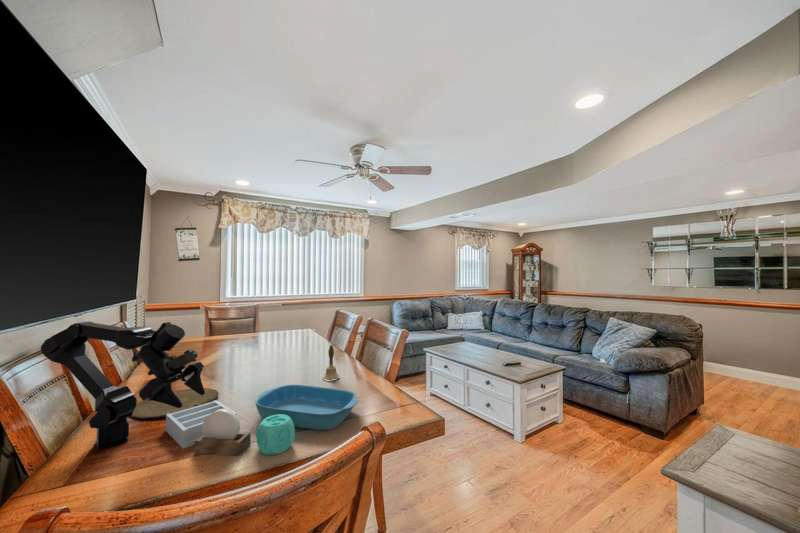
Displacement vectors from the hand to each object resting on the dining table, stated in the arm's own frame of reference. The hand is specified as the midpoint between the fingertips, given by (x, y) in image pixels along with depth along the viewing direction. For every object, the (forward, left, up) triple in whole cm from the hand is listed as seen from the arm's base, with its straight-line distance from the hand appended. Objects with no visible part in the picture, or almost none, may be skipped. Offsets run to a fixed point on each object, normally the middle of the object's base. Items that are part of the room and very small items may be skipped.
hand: (193, 400), depth 93 cm
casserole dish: (+33, -9, -14) cm, 37 cm away
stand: (+5, -8, -13) cm, 17 cm away
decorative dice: (+15, -19, -14) cm, 28 cm away
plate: (+5, -7, -7) cm, 12 cm away
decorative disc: (+7, +39, -14) cm, 42 cm away
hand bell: (+64, +17, -14) cm, 68 cm away
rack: (+5, +9, -13) cm, 17 cm away
